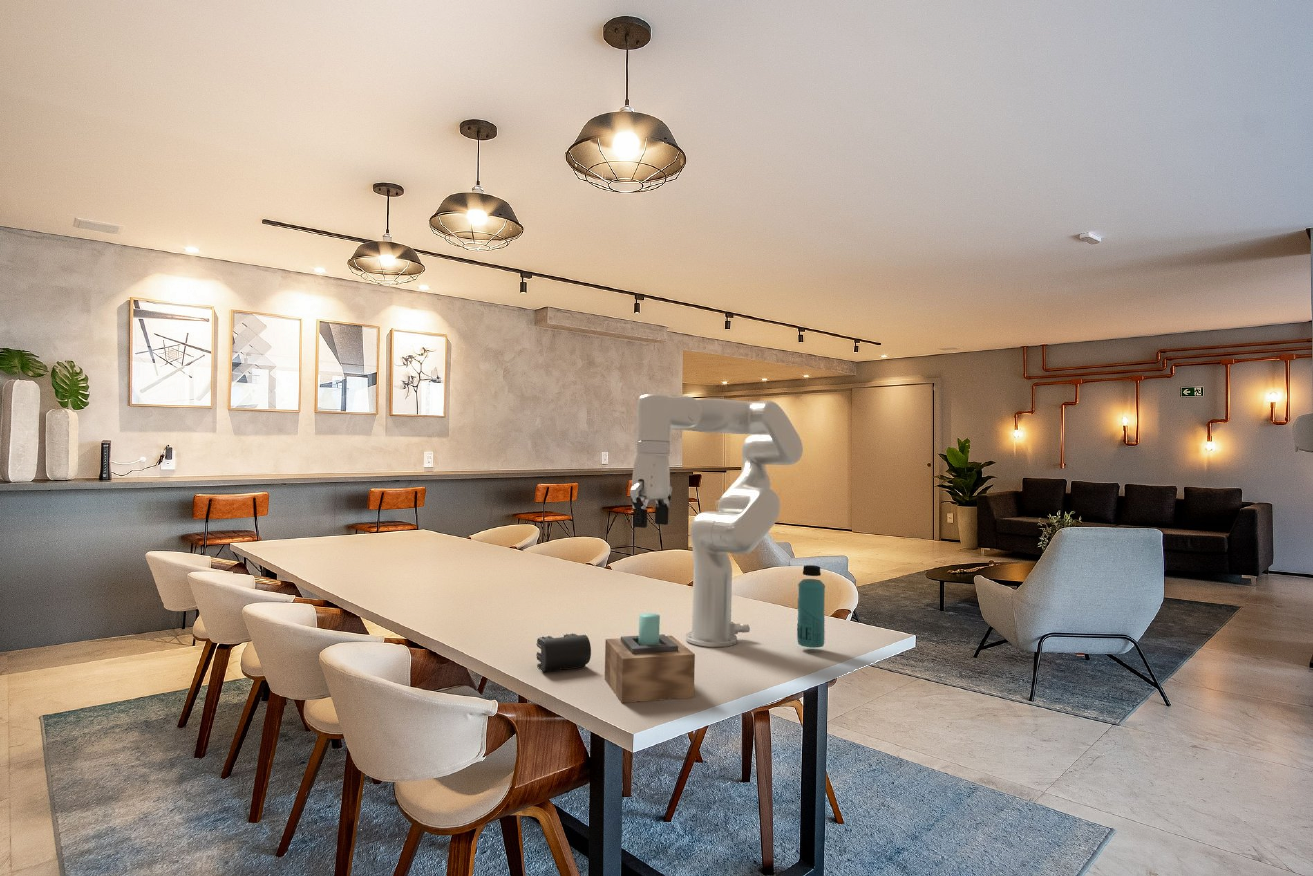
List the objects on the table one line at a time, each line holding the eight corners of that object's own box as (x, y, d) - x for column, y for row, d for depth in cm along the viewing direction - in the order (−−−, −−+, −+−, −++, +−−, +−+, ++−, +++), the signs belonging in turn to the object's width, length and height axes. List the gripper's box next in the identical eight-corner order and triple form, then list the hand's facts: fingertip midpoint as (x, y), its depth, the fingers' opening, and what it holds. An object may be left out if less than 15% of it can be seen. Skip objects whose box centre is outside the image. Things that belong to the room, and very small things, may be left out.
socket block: (670, 674, 146) (671, 630, 146) (693, 697, 133) (695, 649, 133) (604, 679, 142) (605, 634, 142) (621, 703, 129) (622, 653, 129)
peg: (655, 658, 140) (656, 612, 140) (661, 664, 136) (662, 617, 136) (635, 659, 139) (636, 613, 139) (641, 665, 135) (642, 618, 135)
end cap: (545, 676, 143) (546, 643, 143) (534, 667, 149) (535, 634, 149) (591, 670, 148) (591, 638, 148) (578, 661, 154) (579, 630, 154)
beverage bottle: (827, 649, 168) (828, 564, 169) (821, 656, 162) (823, 568, 163) (800, 645, 171) (801, 562, 172) (793, 652, 165) (795, 566, 166)
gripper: (657, 450, 168) (655, 522, 168) (618, 448, 153) (616, 527, 153) (685, 450, 165) (683, 524, 164) (648, 448, 150) (646, 529, 149)
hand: (651, 525), depth 159 cm, fingers open, 9 cm apart
